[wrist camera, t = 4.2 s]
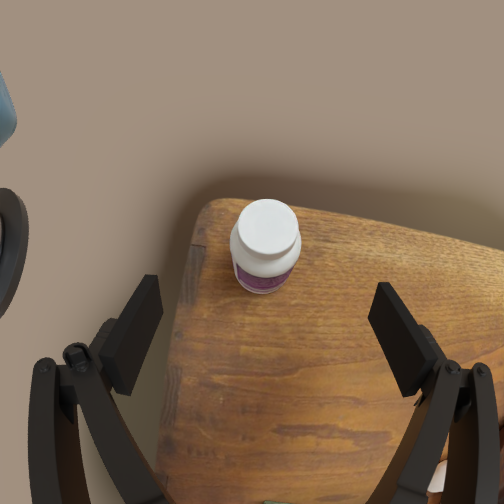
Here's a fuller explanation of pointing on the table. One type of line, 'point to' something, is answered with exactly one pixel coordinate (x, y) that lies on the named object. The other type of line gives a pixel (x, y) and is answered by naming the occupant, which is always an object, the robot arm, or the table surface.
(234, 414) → the table surface
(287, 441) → the table surface
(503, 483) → the dish
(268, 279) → the pill bottle
